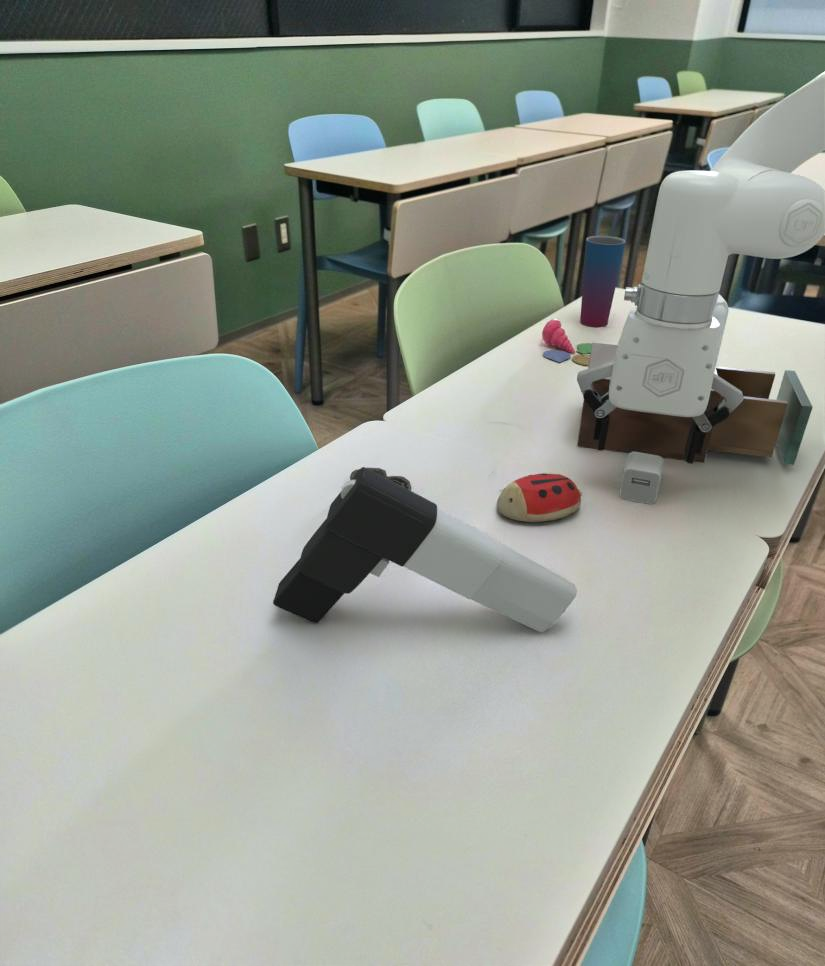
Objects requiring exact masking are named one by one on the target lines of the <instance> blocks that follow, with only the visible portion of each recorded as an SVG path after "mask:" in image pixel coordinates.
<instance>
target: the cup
mask: <svg viewBox="0 0 825 966" xmlns="http://www.w3.org/2000/svg"><path fill="white" fill-rule="evenodd" d="M626 242H627V241H626V239H624V238H622V237H618V236H612V235H611V236H610V235H591V236H588V237H586V238H585V250H584V265H583V275H582V277H583V278H582V289H581V290H582V291H581V305H580V315H579V316H580V320H579V322H580V324H582V325H583V326H586V327H590V328H603V327H606V326H608V323H609V319H610V314H611V309H612V305H613V300H614V296H615V292H616V287H617V282H618V278H619V273H620V270H621V265H622V261H623V260H622V259H623V255H624V251H625V246H626Z"/></svg>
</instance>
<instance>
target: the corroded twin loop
mask: <svg viewBox="0 0 825 966" xmlns="http://www.w3.org/2000/svg"><path fill="white" fill-rule="evenodd" d="M367 468H368V469H370V470H371V471H373V472H375V473H377V474H379V475H381V476H383V477H385V478H387V479H389V480H391V481H393V482H395V483H396V484H398V485H400V486H402V487H404V488H406V489H408V490H410V491H412V485H411V482H410V480H409V479H407V478H406V477H405V476H402V475H390V476H388V474H387V471H386V470H385V469H383V468H380V467H367ZM360 469H361V468H358V469H354V470H353V471H351V473H350V475H349V480H351V479H352V478H353V477H354V475H355V474H356V473H357V472H358V471H359V470H360Z"/></svg>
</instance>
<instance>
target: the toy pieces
mask: <svg viewBox="0 0 825 966" xmlns="http://www.w3.org/2000/svg"><path fill="white" fill-rule="evenodd" d="M541 337H542V340H543V342H544V343H545V344H546V345H549V346H550V345H551V346H553V347H554V348H557V349H549V350H546V351H543V352H542V356H543V357H544V358H546V359H550V360H551V361H552V360H553V361H554V362H556V363H562V362H564V361H566V360H568V359H570V358H571V354H574V355H573V356H572V358H571V360H572V362H573V363H575V364H578V365H582V366H586V367H589V361H590V354H591V347H592V343H593V342H583V343H582V342H581V343H579V344H576V347H577V350H575V349H574V346H573V345H572V342H571V341H570V339H568V338H569V337H568V335H567V334H566V330H565V329H564V328H562V323H561V321H560V320H558V319H556V318H552V319H550V320H549V321H547V322H546V324H545V325H544V327H543V329H542V332H541ZM559 349H560V350H559ZM576 352H577V353H578V354H576Z"/></svg>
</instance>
